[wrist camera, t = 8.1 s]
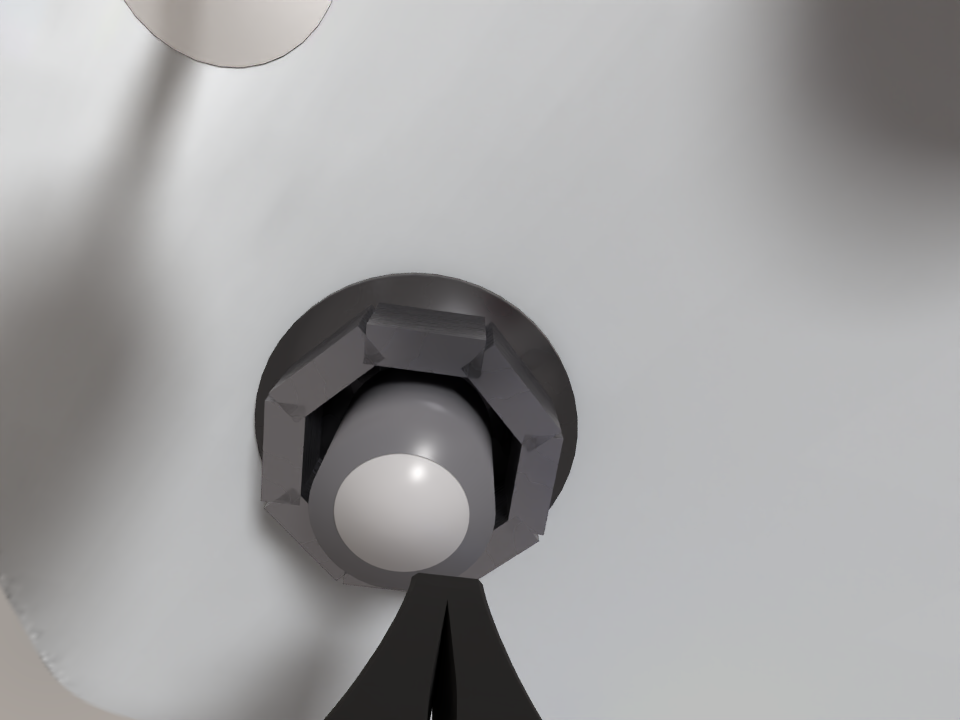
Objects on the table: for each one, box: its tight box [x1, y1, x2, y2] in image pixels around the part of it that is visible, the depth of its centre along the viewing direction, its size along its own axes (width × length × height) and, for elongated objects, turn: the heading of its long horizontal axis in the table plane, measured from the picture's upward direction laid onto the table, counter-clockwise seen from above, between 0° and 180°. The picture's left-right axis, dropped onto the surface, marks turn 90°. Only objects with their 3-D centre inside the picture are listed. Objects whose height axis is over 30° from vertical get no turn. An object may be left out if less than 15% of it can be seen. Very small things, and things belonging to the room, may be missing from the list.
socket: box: [255, 273, 577, 591], centre depth 21 cm, size 11×11×3 cm
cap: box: [308, 367, 496, 590], centre depth 19 cm, size 5×5×5 cm
